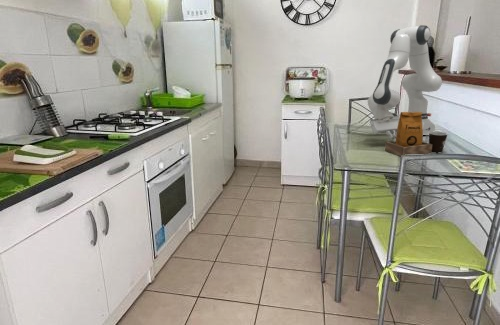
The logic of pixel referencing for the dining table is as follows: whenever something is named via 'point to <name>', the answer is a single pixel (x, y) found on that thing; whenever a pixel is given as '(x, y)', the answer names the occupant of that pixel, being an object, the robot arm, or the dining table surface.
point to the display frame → (408, 149)
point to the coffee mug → (437, 141)
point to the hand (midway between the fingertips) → (393, 137)
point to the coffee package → (409, 129)
